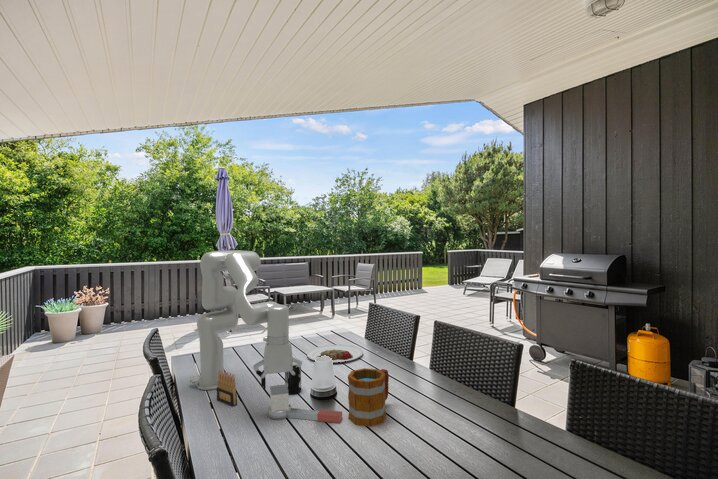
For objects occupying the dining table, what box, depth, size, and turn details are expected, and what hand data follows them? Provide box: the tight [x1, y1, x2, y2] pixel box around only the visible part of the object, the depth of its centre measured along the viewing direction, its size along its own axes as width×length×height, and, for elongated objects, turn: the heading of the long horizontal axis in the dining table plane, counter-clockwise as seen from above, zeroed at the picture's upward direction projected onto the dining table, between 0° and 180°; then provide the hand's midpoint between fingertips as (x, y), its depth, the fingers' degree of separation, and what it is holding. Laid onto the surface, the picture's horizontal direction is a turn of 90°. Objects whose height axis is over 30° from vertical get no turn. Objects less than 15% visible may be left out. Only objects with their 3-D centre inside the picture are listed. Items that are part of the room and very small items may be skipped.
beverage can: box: [284, 362, 302, 395], centre depth 157 cm, size 7×7×12 cm
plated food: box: [306, 344, 364, 364], centre depth 204 cm, size 30×30×3 cm
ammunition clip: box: [216, 370, 238, 407], centre depth 148 cm, size 11×2×12 cm, turn 54°
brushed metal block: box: [269, 383, 290, 412], centre depth 137 cm, size 6×6×7 cm
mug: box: [347, 367, 390, 427], centre depth 136 cm, size 20×14×15 cm
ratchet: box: [267, 404, 343, 424], centre depth 135 cm, size 27×8×6 cm, turn 76°
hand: (277, 386), depth 137 cm, fingers open, 9 cm apart
